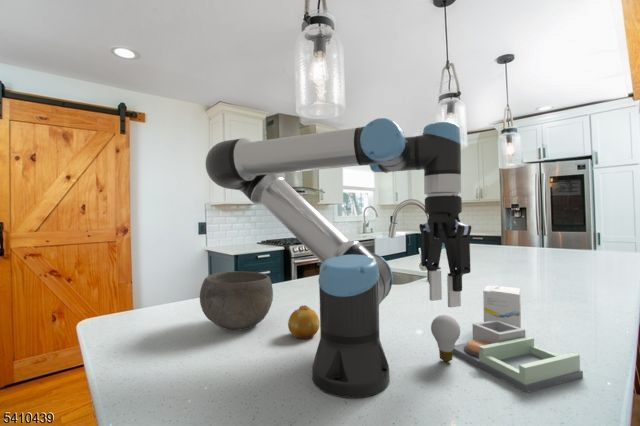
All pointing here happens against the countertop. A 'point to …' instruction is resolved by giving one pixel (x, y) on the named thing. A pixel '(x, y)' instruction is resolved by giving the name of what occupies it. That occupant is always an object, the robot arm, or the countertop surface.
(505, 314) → the ink box
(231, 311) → the bowl
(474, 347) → the checker pad
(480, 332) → the compartment tray
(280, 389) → the countertop surface
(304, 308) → the fruit
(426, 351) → the countertop surface
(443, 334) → the light bulb
